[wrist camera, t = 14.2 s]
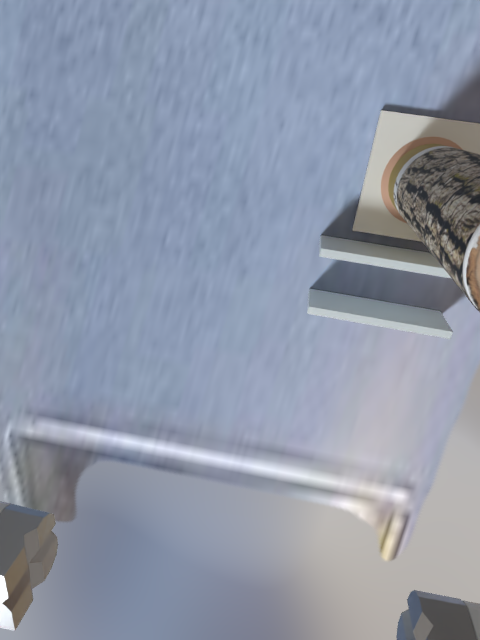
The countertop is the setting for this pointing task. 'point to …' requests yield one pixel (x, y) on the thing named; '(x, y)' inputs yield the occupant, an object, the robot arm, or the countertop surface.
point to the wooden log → (443, 208)
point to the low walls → (375, 309)
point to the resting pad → (387, 148)
